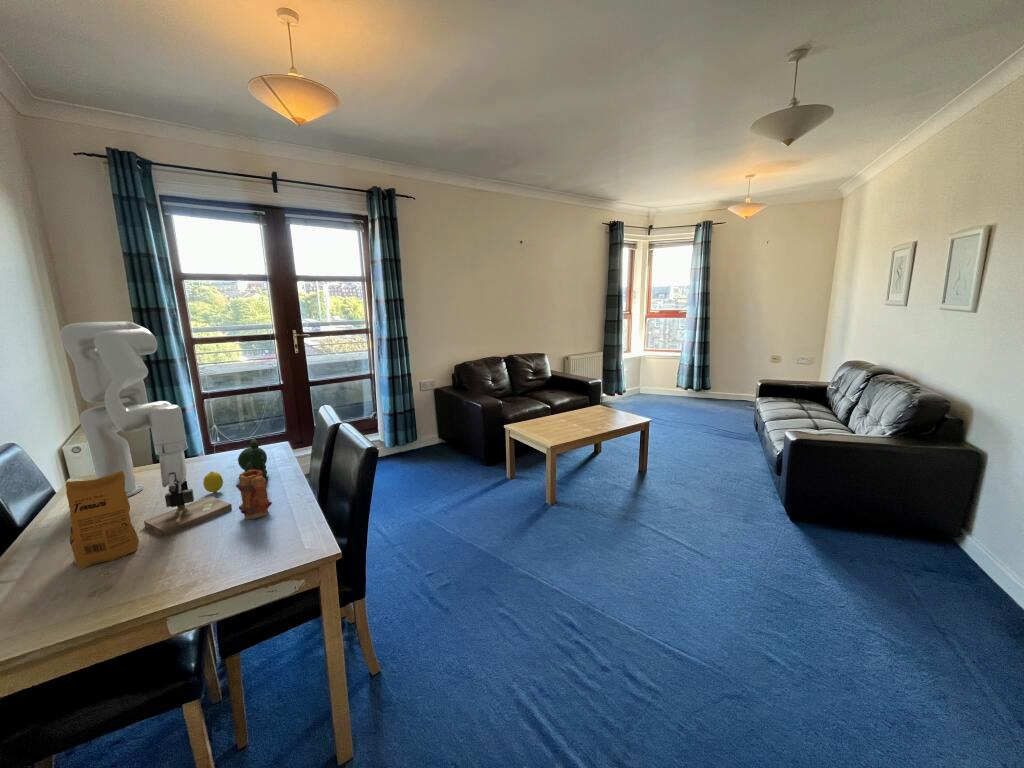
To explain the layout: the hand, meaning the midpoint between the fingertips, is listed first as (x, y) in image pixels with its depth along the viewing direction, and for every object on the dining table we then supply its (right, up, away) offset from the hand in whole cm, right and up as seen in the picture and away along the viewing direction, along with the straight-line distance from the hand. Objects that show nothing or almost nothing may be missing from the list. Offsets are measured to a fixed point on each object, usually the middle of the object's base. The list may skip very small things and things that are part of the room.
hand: (180, 499), depth 125 cm
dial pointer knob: (+2, -5, -2) cm, 5 cm away
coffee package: (-5, -10, -17) cm, 20 cm away
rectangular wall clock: (+2, -6, +1) cm, 7 cm away
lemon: (-2, -3, +18) cm, 18 cm away
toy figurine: (+5, -1, +30) cm, 30 cm away
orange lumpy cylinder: (+24, -6, +1) cm, 25 cm away
